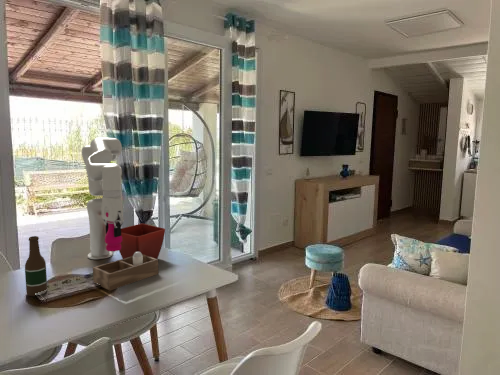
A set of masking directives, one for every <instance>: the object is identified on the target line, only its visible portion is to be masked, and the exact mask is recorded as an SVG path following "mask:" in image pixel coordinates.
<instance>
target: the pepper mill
mask: <svg viewBox="0 0 500 375" xmlns="http://www.w3.org/2000/svg"><path fill="white" fill-rule="evenodd" d="M108 215H109V214H108V212H106V217H108ZM117 220H118V219H117ZM107 223H108V225H109V226H108V232H107V234H106V236H105V243H106V244H107V246H106V250H107V251H111V252H119V250H121V244H120V243H121V242H122V235H121V236H118V237H114V228H115V226H114V222H111V221H108V220H107ZM116 223H118V222H116Z"/></svg>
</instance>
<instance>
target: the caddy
mask: <svg viewBox="0 0 500 375" xmlns="http://www.w3.org/2000/svg"><path fill="white" fill-rule="evenodd" d="M142 255H143V254H142ZM92 274H93V276H92V278H93V283H94V282H95V283H98V284H100V285H101V286H100V287H102V288H104V289H106V290H108V291H113V290H116V289H118V288H121V287H125V286H128V285H131V284H134V283H135V282H138V281H142V280H145V279H149V278H150V277H153V276H156V275H159V259H158V258H157V259H155V258H152V257H149V256H146V255H143V263H142V264H139V265H136V266H134V265H133V256H131V257H128V258H124V259H123V258H121V259H118V260H115V261H111V262H108V263H107V262H106V263H103V264H100V265H96V266H92ZM95 283H94V284H95Z"/></svg>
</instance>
